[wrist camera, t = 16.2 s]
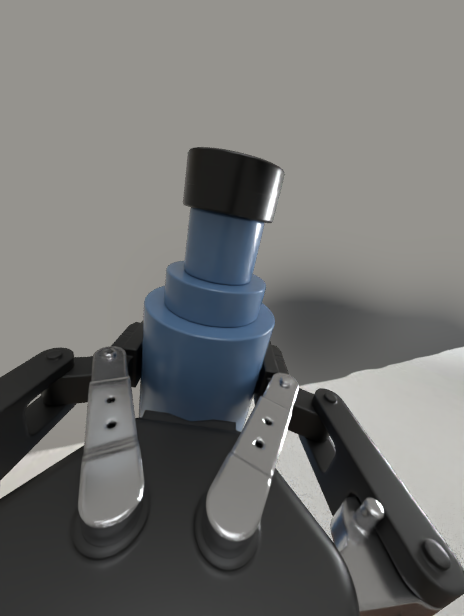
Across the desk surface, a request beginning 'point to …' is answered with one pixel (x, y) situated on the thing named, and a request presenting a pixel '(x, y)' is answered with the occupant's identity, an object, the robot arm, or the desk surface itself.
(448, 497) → the desk surface
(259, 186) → the steel bottle
